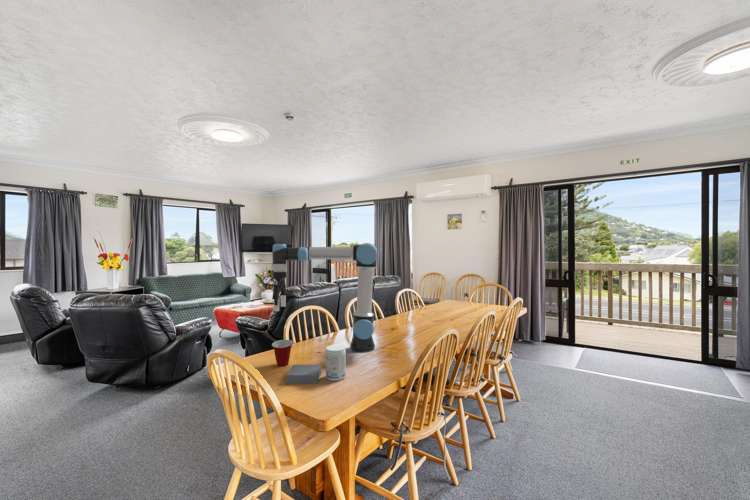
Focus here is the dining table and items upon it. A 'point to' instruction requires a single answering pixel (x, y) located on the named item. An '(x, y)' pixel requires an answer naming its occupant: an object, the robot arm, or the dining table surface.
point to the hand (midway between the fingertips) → (280, 308)
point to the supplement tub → (335, 362)
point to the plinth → (303, 374)
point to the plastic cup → (282, 351)
